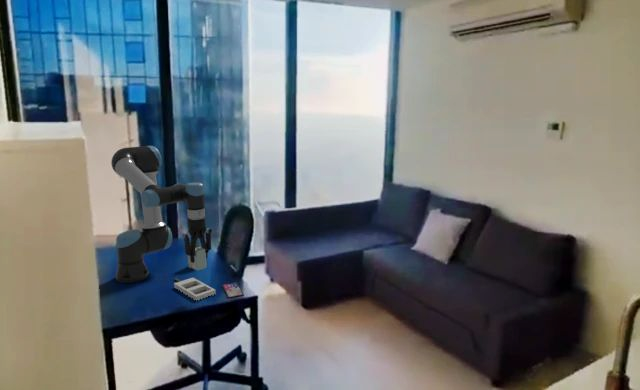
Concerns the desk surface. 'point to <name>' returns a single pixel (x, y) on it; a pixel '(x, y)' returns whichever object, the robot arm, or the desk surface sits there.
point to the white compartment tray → (194, 288)
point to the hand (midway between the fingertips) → (199, 267)
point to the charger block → (200, 258)
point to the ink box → (189, 256)
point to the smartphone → (232, 290)
